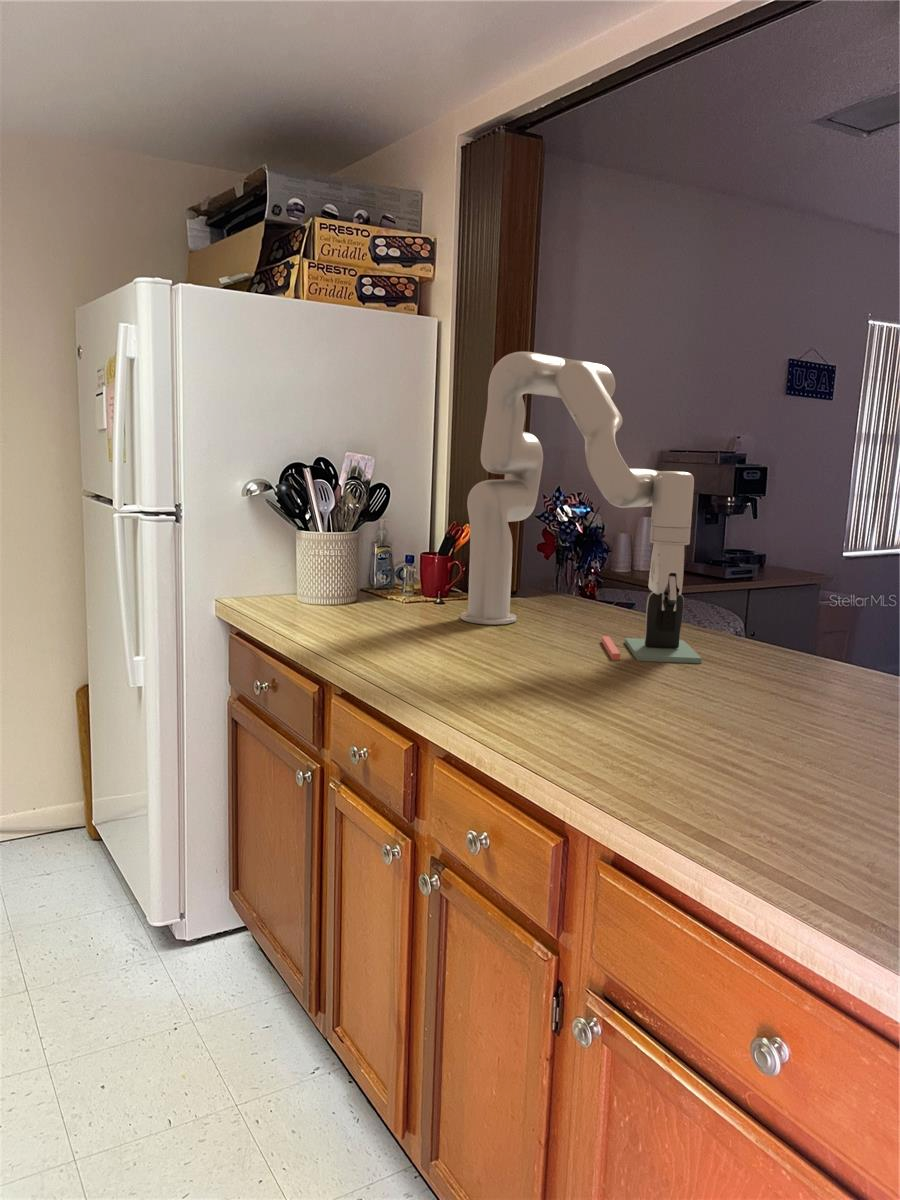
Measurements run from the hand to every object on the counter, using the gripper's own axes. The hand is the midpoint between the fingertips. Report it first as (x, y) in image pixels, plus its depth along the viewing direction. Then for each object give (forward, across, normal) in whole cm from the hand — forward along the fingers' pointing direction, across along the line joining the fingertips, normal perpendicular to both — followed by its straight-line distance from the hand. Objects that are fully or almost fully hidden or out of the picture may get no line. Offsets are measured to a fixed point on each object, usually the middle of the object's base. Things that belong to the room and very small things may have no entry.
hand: (663, 627), depth 180 cm
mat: (+5, 0, 0) cm, 5 cm away
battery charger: (+4, -1, 0) cm, 4 cm away
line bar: (+5, 0, -10) cm, 11 cm away
